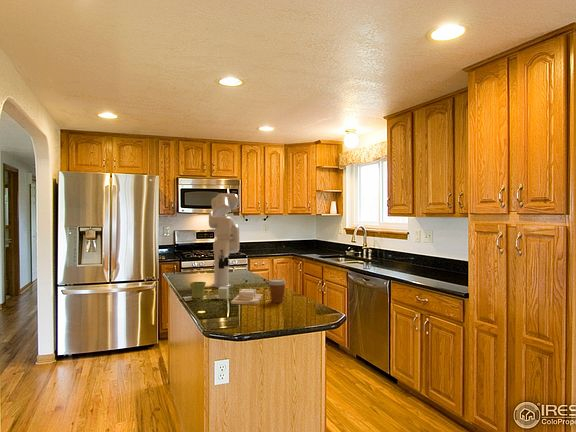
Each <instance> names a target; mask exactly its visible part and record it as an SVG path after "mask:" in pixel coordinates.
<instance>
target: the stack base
mask: <svg viewBox="0 0 576 432" xmlns="http://www.w3.org/2000/svg"><path fill="white" fill-rule="evenodd" d="M263 297H264V295H263V293H262V294H259V293H257V289H256V288H255V289H253V288H250V289H247V288H244V289H243V288H242V289H240V290H239V291H238V294H237V295H236V296H235V297H234V298H233V299H232V300H231V301H230V304H231V305H255V306H257V305H258V303H259V302H260V301H261V300H262V299H263Z"/></svg>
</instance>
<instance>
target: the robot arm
mask: <svg viewBox="0 0 576 432" xmlns="http://www.w3.org/2000/svg"><path fill="white" fill-rule="evenodd" d="M238 205H239V197H238V194H236V193H233V192H232V193H228V192H227V193H224V192H222V193H218V194H217V195H216V197H213V198H212V199H211V210H210V212H209V214H208V226H209V228H210V229H215V236H216V237H217V238H216V239H215V240H214V241H213V244H212V247H213V254H214V255H213V258H214V262H213V263H214V264H213V265H214V269H213V271H214V273H213V275H214V280H213V281H214V282H213V283H212V284H211V287H213V288H220V287H229V288H230V287H231V286H232V284H231V283H230V280H229V277H230V276H229V275H230V274H229V273H230V270H229V269H230V262H229V260H230V259H229V256H230V254H236V253H239V251H240V227H239V225H238V224H237V223H234V219H233V217H232V216H228V215H227V214H228V213H229V212H230V211H231V210H236V209H237V208H238Z"/></svg>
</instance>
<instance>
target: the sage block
mask: <svg viewBox="0 0 576 432" xmlns="http://www.w3.org/2000/svg"><path fill="white" fill-rule="evenodd" d="M229 292H230V287H220V288H218V289H217V298H218V299H217V300H228V299H229V297H230V293H229Z"/></svg>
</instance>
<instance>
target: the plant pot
mask: <svg viewBox="0 0 576 432" xmlns="http://www.w3.org/2000/svg"><path fill="white" fill-rule="evenodd" d="M206 284H207V282H206V281H193V282H189V286H190V288H191V289H190V290H191V295H192V298H193V299H195V298H196V299H203V298H204V295H205V288H206Z"/></svg>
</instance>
